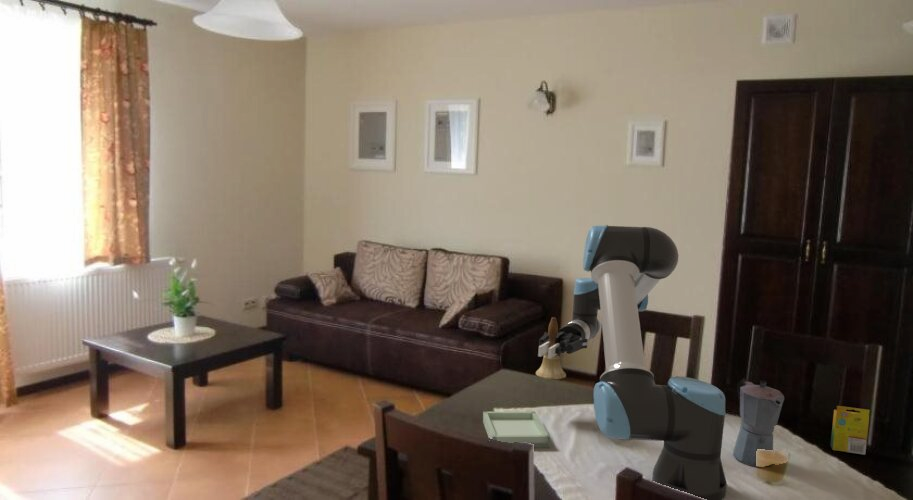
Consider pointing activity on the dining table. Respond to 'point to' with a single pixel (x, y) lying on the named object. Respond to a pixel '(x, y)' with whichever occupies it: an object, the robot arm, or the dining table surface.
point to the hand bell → (552, 366)
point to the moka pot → (756, 419)
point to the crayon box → (850, 430)
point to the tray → (516, 428)
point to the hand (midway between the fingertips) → (544, 352)
